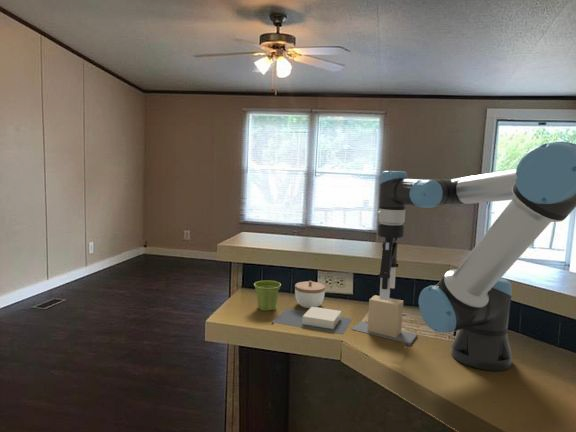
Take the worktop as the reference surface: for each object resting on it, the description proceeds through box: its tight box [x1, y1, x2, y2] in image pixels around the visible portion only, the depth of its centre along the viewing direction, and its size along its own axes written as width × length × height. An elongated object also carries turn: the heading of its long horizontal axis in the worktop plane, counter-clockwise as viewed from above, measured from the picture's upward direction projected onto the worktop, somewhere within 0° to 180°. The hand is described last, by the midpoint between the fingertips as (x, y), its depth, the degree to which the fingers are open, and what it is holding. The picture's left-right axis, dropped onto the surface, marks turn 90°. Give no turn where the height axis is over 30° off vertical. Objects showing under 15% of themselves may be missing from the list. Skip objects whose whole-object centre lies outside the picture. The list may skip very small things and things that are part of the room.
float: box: [351, 294, 418, 347], centre depth 136 cm, size 18×8×11 cm, turn 60°
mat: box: [271, 308, 353, 335], centre depth 144 cm, size 23×14×1 cm, turn 70°
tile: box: [302, 306, 342, 330], centre depth 143 cm, size 3×10×10 cm
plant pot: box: [253, 280, 282, 312], centre depth 156 cm, size 9×9×9 cm
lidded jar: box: [294, 280, 326, 309], centre depth 159 cm, size 11×11×9 cm
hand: (387, 293), depth 135 cm, fingers open, 13 cm apart
